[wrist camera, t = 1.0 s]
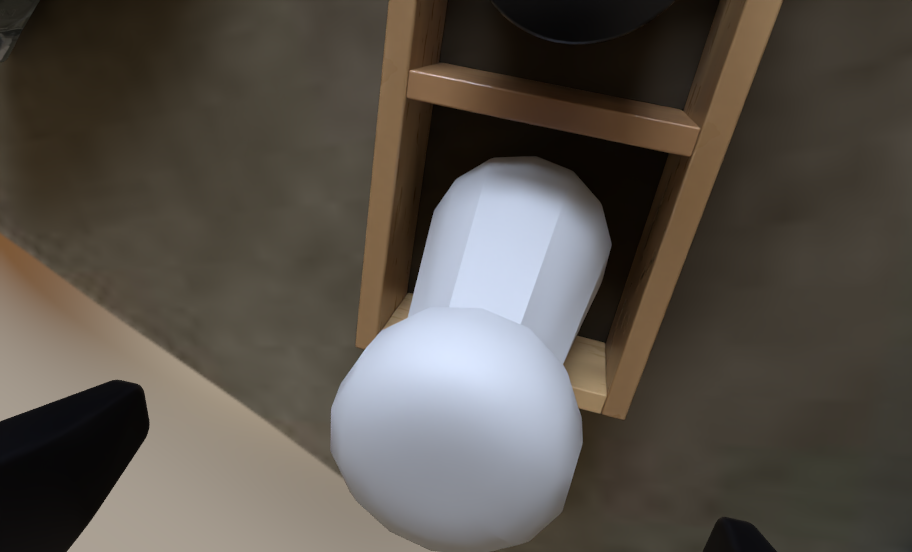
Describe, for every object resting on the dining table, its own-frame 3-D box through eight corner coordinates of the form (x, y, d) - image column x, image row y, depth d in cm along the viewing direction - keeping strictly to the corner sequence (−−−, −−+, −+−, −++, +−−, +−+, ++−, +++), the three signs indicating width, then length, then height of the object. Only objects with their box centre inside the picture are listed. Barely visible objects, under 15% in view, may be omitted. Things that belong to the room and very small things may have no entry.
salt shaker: (455, 293, 22) (302, 589, 10) (439, 147, 20) (222, 317, 8) (609, 294, 21) (628, 637, 9) (610, 137, 18) (637, 324, 7)
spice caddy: (837, -250, 14) (909, -330, 11) (620, 364, 22) (624, 421, 19) (459, -291, 15) (423, -374, 12) (386, 303, 23) (354, 347, 20)
